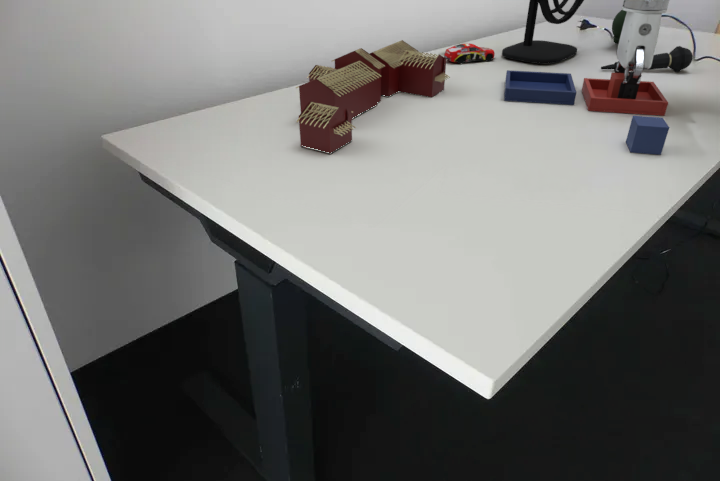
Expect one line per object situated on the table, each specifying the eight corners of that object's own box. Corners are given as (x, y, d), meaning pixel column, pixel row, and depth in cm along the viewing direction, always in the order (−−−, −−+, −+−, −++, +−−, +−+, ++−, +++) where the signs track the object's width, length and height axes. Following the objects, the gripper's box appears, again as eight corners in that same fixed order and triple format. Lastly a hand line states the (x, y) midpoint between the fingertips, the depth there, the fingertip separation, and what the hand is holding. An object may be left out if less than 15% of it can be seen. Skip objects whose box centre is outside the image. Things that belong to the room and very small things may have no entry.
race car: (488, 56, 141) (490, 40, 139) (498, 61, 136) (500, 44, 134) (441, 59, 138) (442, 43, 136) (449, 65, 134) (450, 48, 132)
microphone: (601, 85, 128) (691, 75, 125) (606, 63, 124) (699, 53, 121) (595, 72, 131) (683, 62, 129) (600, 50, 127) (690, 40, 125)
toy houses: (375, 74, 127) (375, 29, 122) (455, 87, 118) (459, 39, 113) (245, 136, 95) (237, 78, 90) (342, 160, 86) (340, 98, 81)
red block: (630, 96, 110) (636, 73, 107) (634, 103, 106) (640, 80, 103) (606, 95, 111) (611, 72, 108) (609, 102, 107) (615, 78, 104)
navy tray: (568, 85, 118) (571, 73, 117) (573, 105, 107) (576, 92, 106) (505, 81, 121) (506, 70, 120) (503, 100, 110) (505, 88, 109)
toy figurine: (610, 41, 159) (604, 53, 139) (626, -30, 151) (623, -29, 131) (645, 44, 156) (644, 56, 136) (663, -29, 147) (666, -28, 127)
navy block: (655, 144, 90) (663, 117, 88) (661, 154, 87) (669, 127, 84) (625, 141, 91) (632, 115, 89) (630, 152, 88) (637, 125, 85)
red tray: (650, 94, 113) (653, 81, 111) (664, 116, 102) (668, 102, 100) (581, 90, 115) (584, 77, 114) (588, 111, 104) (591, 97, 103)
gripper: (680, 10, 90) (650, 113, 100) (658, -5, 105) (634, 85, 114) (632, 9, 92) (607, 110, 102) (616, -6, 106) (596, 83, 116)
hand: (621, 96), depth 108 cm, fingers open, 7 cm apart
